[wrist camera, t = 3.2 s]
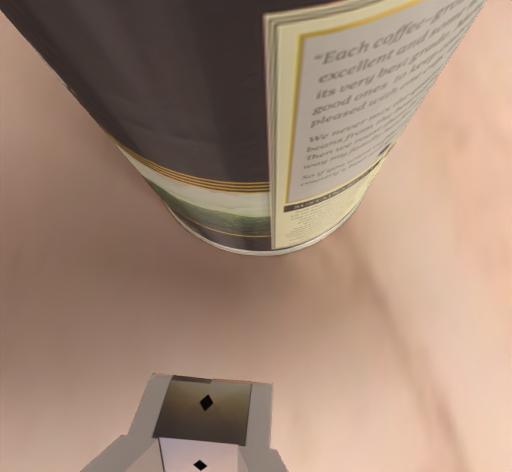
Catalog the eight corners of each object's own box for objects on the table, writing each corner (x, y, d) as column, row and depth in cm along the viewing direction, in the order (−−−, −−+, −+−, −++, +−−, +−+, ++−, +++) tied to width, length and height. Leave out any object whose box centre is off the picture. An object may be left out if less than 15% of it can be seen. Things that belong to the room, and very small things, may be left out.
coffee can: (154, 269, 17) (-395, -23, 3) (150, 65, 19) (-155, -588, 6) (395, 247, 16) (986, -186, 3) (358, 42, 19) (569, -706, 5)
